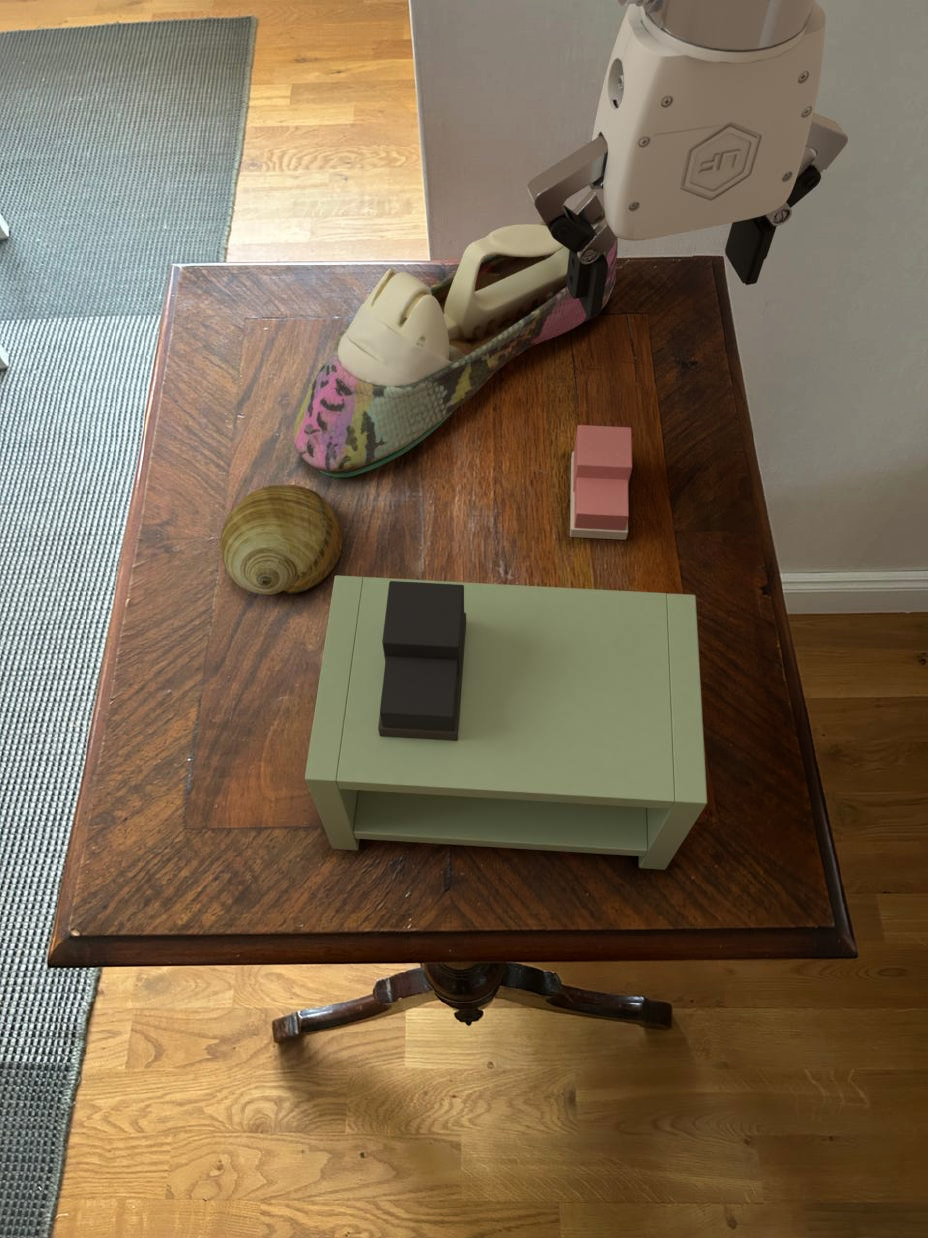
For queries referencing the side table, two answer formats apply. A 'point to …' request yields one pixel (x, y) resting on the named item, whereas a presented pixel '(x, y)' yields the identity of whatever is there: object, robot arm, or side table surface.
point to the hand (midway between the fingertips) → (663, 284)
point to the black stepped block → (423, 661)
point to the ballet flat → (435, 347)
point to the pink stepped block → (600, 482)
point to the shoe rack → (521, 726)
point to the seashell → (281, 540)
